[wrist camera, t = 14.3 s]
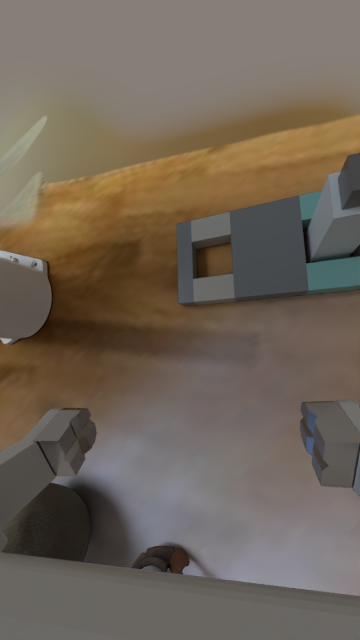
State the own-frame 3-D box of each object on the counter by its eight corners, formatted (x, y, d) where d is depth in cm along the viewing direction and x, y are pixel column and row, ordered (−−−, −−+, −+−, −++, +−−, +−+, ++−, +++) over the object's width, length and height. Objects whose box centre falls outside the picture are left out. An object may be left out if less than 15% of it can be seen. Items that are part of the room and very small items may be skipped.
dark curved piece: (132, 589, 32) (99, 609, 26) (171, 521, 36) (148, 524, 30) (198, 697, 25) (173, 757, 19) (239, 599, 29) (227, 625, 23)
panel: (184, 306, 34) (178, 303, 32) (182, 232, 35) (176, 224, 33) (381, 287, 26) (392, 281, 23) (367, 191, 27) (377, 177, 25)
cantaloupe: (118, 484, 35) (19, 577, 21) (97, 577, 34) (-18, 738, 20) (53, 448, 40) (-61, 504, 26) (34, 529, 39) (-92, 630, 25)
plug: (308, 264, 29) (343, 200, 16) (305, 234, 29) (337, 151, 17) (345, 259, 27) (415, 185, 15) (341, 228, 28) (406, 131, 15)
